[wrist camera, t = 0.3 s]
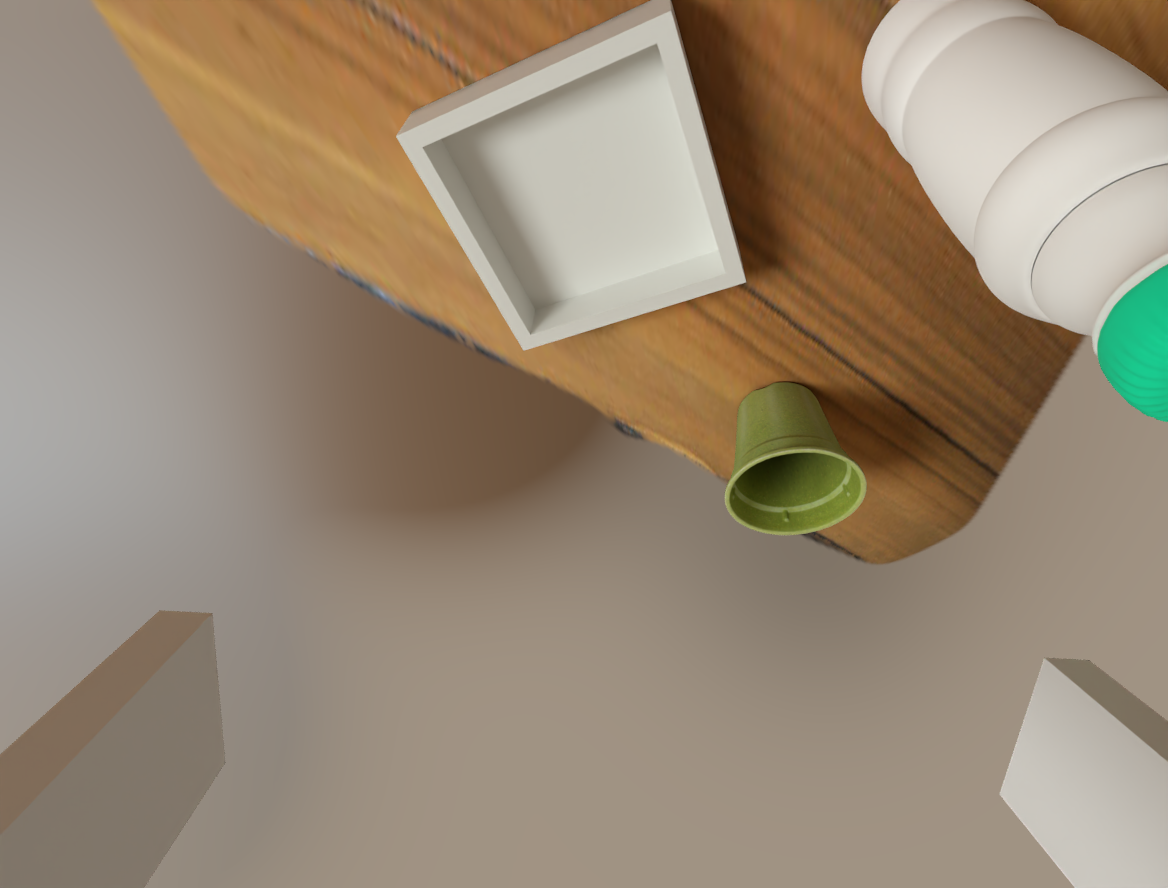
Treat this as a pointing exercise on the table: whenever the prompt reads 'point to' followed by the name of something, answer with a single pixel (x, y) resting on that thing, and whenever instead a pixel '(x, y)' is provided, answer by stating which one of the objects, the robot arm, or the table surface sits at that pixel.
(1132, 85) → the water bottle
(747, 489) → the plant pot
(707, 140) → the white tray
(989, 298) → the table surface
